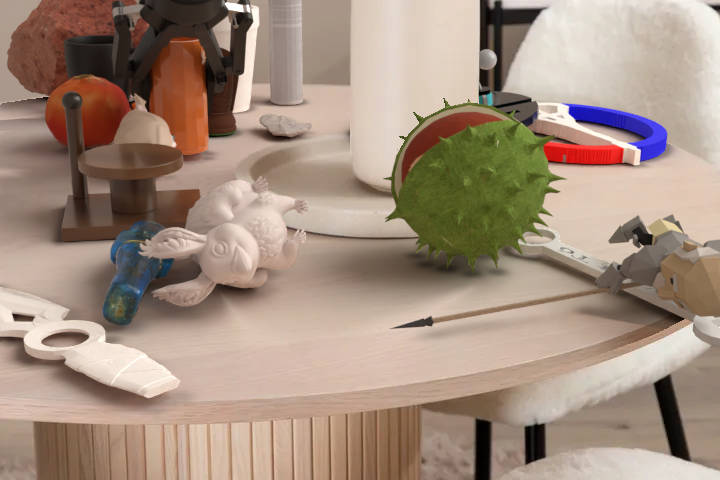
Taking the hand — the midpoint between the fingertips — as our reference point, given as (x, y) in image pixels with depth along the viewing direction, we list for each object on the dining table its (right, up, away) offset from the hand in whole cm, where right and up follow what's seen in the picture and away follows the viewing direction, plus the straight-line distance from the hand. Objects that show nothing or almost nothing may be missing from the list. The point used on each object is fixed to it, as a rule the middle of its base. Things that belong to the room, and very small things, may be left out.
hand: (175, 105), depth 118 cm
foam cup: (+2, +3, +22) cm, 22 cm away
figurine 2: (+15, -14, -35) cm, 41 cm away
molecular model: (+37, +7, +27) cm, 46 cm away
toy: (+39, -16, -33) cm, 53 cm away
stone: (+11, -2, +9) cm, 14 cm away
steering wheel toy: (+46, -3, +9) cm, 46 cm away
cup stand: (+1, -14, -23) cm, 27 cm away
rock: (-16, +15, +33) cm, 40 cm away
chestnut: (+30, -10, -26) cm, 42 cm away
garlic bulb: (-1, -9, -9) cm, 13 cm away
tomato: (-10, -4, +1) cm, 11 cm away
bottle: (+10, +4, +26) cm, 28 cm away
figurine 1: (+6, -20, -38) cm, 43 cm away
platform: (+31, -1, +9) cm, 32 cm away
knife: (+1, -22, -46) cm, 51 cm away
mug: (-11, +1, +16) cm, 19 cm away
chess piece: (+3, -2, +9) cm, 10 cm away
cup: (+1, -5, -2) cm, 5 cm away
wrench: (+45, -18, -35) cm, 60 cm away
